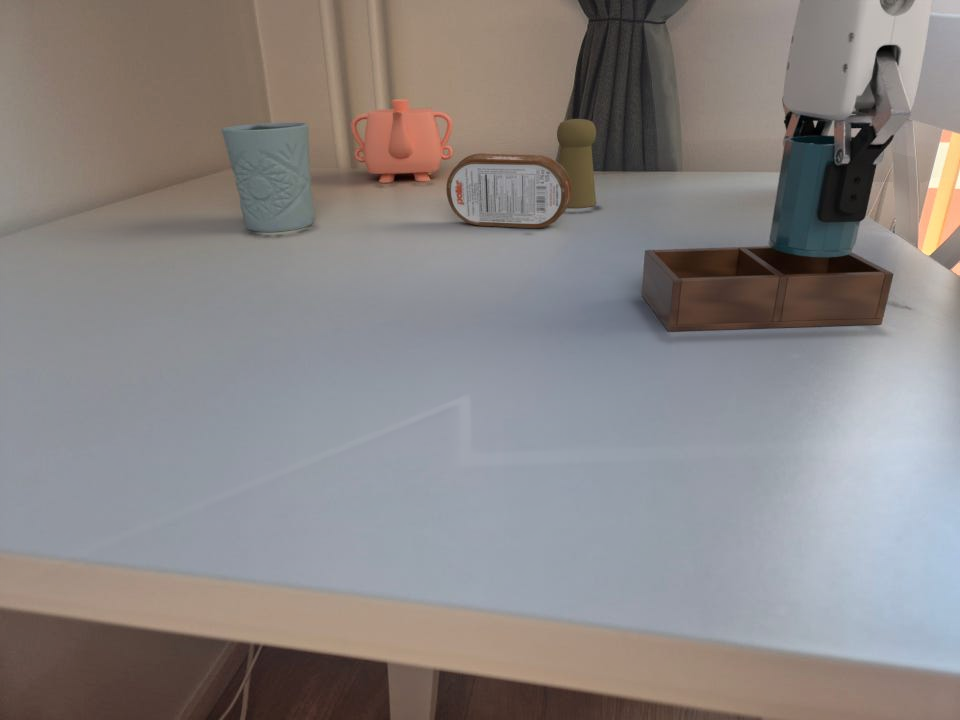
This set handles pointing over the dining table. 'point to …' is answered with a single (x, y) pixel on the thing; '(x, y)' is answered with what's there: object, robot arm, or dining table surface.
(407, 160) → the teapot
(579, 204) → the pepper mill
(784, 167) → the cup
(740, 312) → the divided wooden box
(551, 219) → the tin
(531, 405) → the dining table surface
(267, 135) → the drinking glass
